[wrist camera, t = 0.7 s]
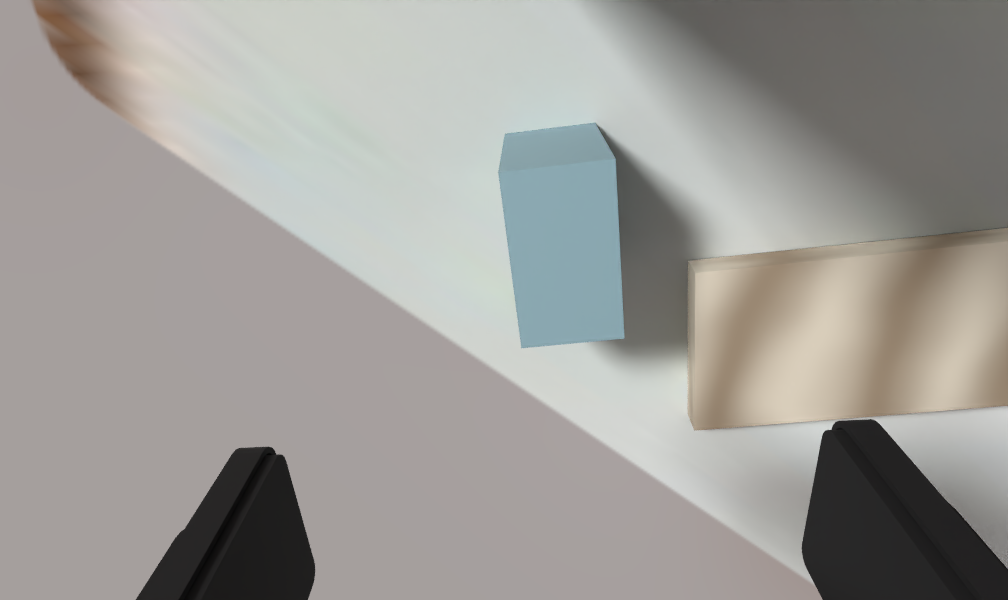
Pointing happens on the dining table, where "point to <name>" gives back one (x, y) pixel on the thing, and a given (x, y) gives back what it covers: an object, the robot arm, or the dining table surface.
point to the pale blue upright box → (563, 235)
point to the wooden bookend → (849, 331)
